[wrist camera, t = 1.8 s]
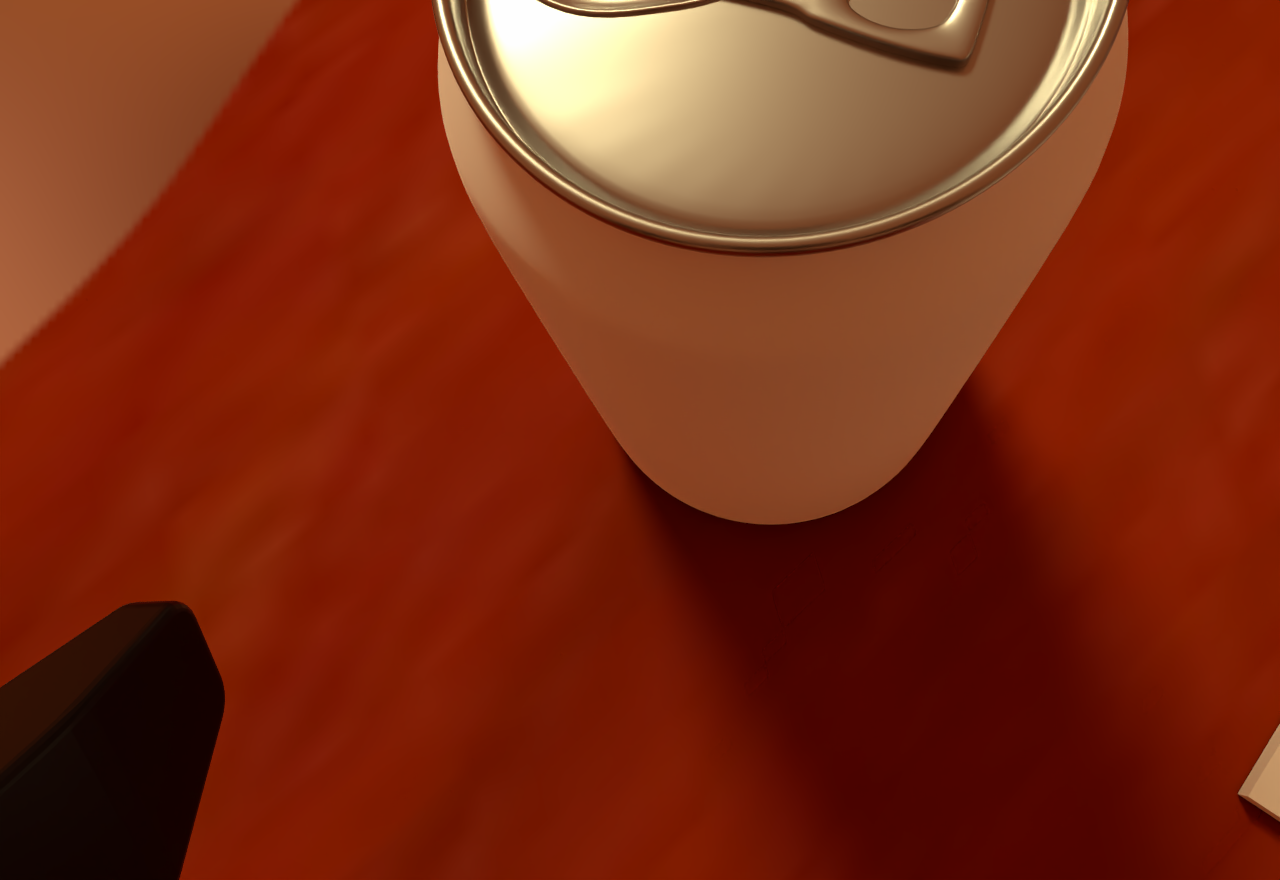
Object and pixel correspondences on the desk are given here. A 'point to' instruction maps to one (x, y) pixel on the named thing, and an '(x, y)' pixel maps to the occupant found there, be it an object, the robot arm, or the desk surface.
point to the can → (776, 212)
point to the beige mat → (1265, 779)
